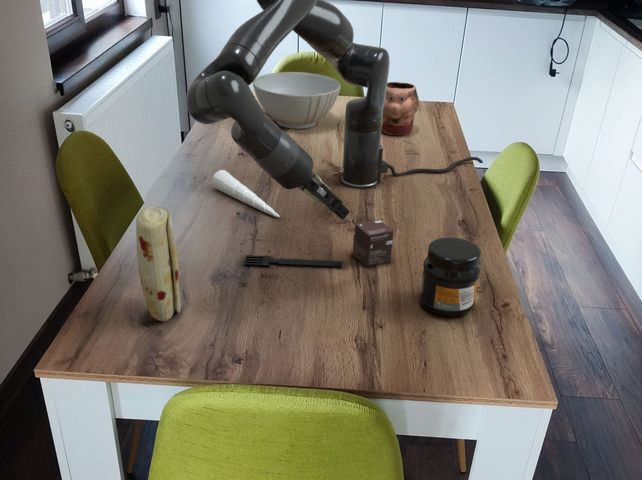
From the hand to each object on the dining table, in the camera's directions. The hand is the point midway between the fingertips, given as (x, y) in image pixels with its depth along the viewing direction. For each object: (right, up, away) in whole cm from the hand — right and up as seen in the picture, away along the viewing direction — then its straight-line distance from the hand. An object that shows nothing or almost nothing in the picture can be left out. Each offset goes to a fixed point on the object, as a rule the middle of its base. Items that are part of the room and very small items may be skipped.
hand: (334, 206), depth 137 cm
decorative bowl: (-12, +44, +85) cm, 96 cm away
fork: (-9, -10, +9) cm, 16 cm away
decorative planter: (+19, +41, +83) cm, 95 cm away
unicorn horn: (-21, +8, +33) cm, 40 cm away
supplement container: (+21, -19, -2) cm, 29 cm away
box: (+8, -9, +12) cm, 17 cm away
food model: (-31, -21, -9) cm, 39 cm away
